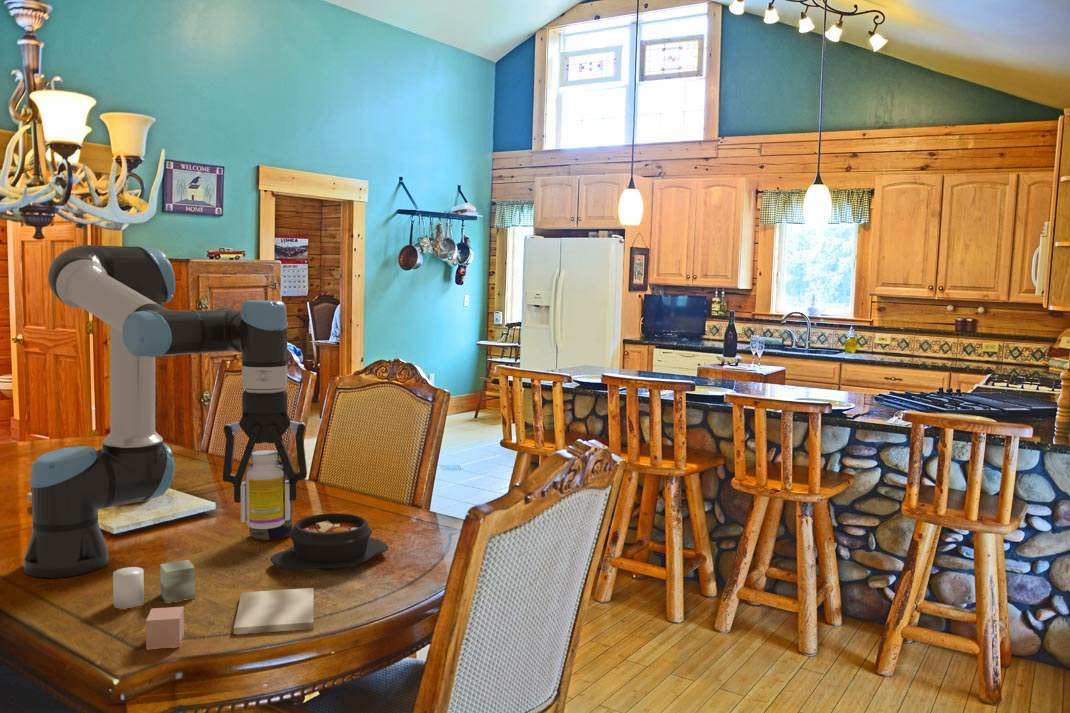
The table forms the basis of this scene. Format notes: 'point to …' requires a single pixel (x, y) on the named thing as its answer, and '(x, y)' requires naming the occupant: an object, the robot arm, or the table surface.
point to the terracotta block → (164, 627)
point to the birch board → (275, 611)
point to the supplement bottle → (265, 491)
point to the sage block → (177, 581)
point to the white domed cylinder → (128, 587)
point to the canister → (277, 531)
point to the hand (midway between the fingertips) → (265, 519)
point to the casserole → (329, 543)
